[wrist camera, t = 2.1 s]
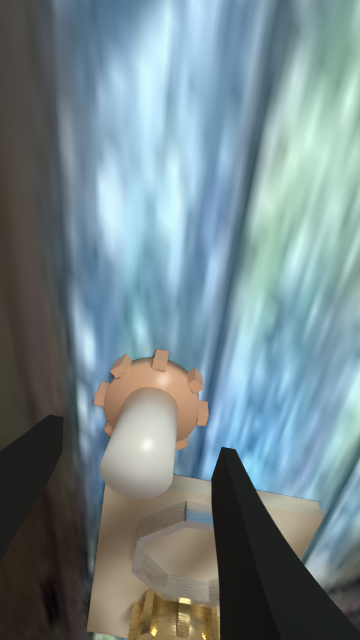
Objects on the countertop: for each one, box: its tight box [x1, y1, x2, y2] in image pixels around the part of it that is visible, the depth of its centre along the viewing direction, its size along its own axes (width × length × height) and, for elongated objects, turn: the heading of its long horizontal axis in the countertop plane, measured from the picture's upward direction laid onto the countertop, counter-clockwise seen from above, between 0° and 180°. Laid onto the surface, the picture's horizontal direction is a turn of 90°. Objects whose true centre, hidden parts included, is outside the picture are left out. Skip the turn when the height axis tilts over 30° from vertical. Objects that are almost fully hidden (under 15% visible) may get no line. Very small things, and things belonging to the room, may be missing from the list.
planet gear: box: [94, 349, 208, 499], centre depth 13 cm, size 6×6×5 cm
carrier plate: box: [87, 474, 324, 638], centre depth 20 cm, size 14×19×1 cm
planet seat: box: [131, 501, 219, 608], centre depth 18 cm, size 9×9×1 cm
